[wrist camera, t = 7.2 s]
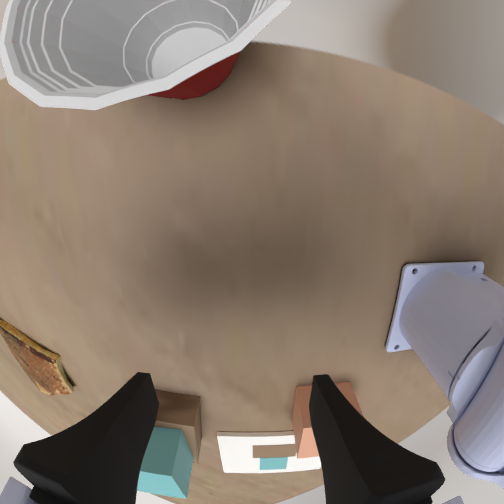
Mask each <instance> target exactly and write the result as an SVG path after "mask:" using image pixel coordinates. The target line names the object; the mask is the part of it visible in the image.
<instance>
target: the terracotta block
mask: <svg viewBox="0 0 504 504" xmlns="http://www.w3.org/2000/svg"><path fill="white" fill-rule="evenodd" d="M335 385H336V386H337V387H338V389H339V390H340V391H341V393H342V394H343V395H344V396H345V398H346V399H347V400H348V401H349V402H350V403H351V404H352V406H353V407H354V408H355V409H356V410H357V411H358V412H359V413H360V414H361V415H362V416H363V414H362V411H361V409H360V406H359V404H358V401H357V399H356V396H355V393H354V391H353V388H352V386H351V383H350V381H349V382H341V383H335ZM311 389H312V385H310V386H296V392H295V400H294V408H293V416H292V424H293V431H294V438H295V446H296V453H297V459H298V458H309V457H318V456H319V453H318V449H317V446H316V442H315V438H314V434H313V430H312V426H311V420H310V412H309V401H310V395H311Z"/></svg>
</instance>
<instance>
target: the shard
mask: <svg viewBox="0 0 504 504" xmlns="http://www.w3.org/2000/svg"><path fill="white" fill-rule="evenodd" d="M0 334H1V335H2V337H3V338H4V340H5V342H6V343H7V345H8V347H9V349H10V350H11V352H12V354H13V355H14V357H15V358H16V360H17V361H18V362H19V364H20V366H21V367H22V368H23V370H24V371H25V372H26V374H27V375H28V377H29V378H30V379H31V380H32V381H33V383H34V384H35V385H36V386H37V387H38V389H39V390H40V391H42V392H44V393H45V394H48V395H56V394H57V395H58V394H71V393H72V392H73V391H74V389H73V386H72V385H71V384H70V382H69V381H68V379H67V377H66V375H65V373H64V370H63V367H62V363H61V358H60V356H59V355H57V354H55V353H51V352H50V351H48V350H45V349H43V348H41V347H40V346H39V345H37V344H36V343H35V342H33V341H32V340H30V339H29V338H28V337H26V336H25V335H24V334H22V333H21V332H20V331H18V330H17V329H15V328H14V327H13V326H11V325H10V324H8V323H6V322H4V321H3V320H0Z"/></svg>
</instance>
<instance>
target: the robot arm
mask: <svg viewBox="0 0 504 504" xmlns="http://www.w3.org/2000/svg"><path fill="white" fill-rule="evenodd" d="M414 268H415V271H414V272H413V273H412V271H413V269H414ZM483 271H484V263H483V262H481V261H474V262H448V263H419V264H406V265H405V266H404V267H403V270H402V275H401V281H400V286H399V291H398V296H397V301H396V306H395V310H394V315H393V319H392V323H391V327H390V331H389V335H388V339H387V343H386V346H385V348H386V350H387V352H395V351H402V350H408V349H413V351H414V352H415V353H416V355H417V356H418V357H419V359H420V360H421V361H422V363H423V364H424V366H425V367H426V368H427V370H428V371H429V373H430V374H431V375H432V377H433V378H434V380H435V381H436V383H437V384H438V385H439V387H440V388H441V390H442V391H443V393H444V394H445V396H446V397H447V399H448V400H449V402H450V406H449V409H448V410H447V414H448V416H449V417H450V419H451V421H452V422H453V424H452V426H451V427H450V430H449V432H448V436H447V446H448V451H449V454H450V456H451V459H452V460H453V462H454V463H455V465H456V466H457V467H458V468H459V469H460V470H461V471H462V472H463V473H465V474H466V475H468V476H470V477H473V478H476V479H481V480H488V481H492V482H494V483H496V484H498V485H499V486H501V487H502V488H503V489H504V287H503V286H501V285H500V284H498V283H496V282H495V281H493V280H492V279H490V278H489V277H487V276H486V275H484V274H483ZM396 345H397V346H396ZM395 346H396V347H395ZM158 408H159V401H158V398H157V395H156V392H155V389H154V385H153V382H152V379H151V375H150V373H141V372H137V373H136V374H135V375H134V376H133V377H132V378H131V379H130V380H129V381H128V382H127V383H126V384H125V385H124V386H123V387H122V388H121V389H120V390H119V391H118V392H116V393H115V394H114V395H113V396H112V397H111V398H110V399H109V400H108V401H107V402H105V403H104V404H103V405H102V406H101V407H99V408H98V409H97V410H96V411H94V412H93V413H92V414H90V415H89V416H88V417H86V418H85V419H83V420H81V421H80V422H78V423H77V424H75V425H73V426H71V427H69V428H67V429H66V430H64V431H62V432H60V433H57V434H55V435H53V436H50V437H48V438H45V439H42V440H39V441H36V442H31V443H28V444H24V445H23V447H22V448H21V450H20V452H19V453H18V455H17V457H16V459H15V461H14V466H15V467H16V469H17V470H18V471H19V472H20V473H21V474H22V475H23V476H24V477H25V478H26V479H27V480H28V481H29V482H31V483H32V484H33V485H34V487H33V489H32V490H31V489H30V488H29V487H27V486H26V485H24V484H22V483H21V482H19V481H18V480H16V479H14V478H13V477H10V478H9V480H8V482H7V484H6V486H5V487H4V489H3V491H2V493H1V496H0V504H135V502H136V493H137V486H138V480H139V474H140V469H141V464H142V461H143V457H144V454H145V451H146V449H147V446H148V443H149V440H150V437H151V434H152V431H153V428H154V425H155V422H156V418H157V413H158ZM309 412H310V420H311V426H312V430H313V434H314V438H315V442H316V446H317V449H318V453H319V457H320V461H321V465H322V470H323V478H324V485H325V494H326V504H432V499H431V495H432V494H434V493H435V492H436V491H437V490H438V489H439V488H440V487H441V485H443V483H444V481H445V478H444V476H443V473H442V471H441V469H440V467H439V466H438V464H437V463H436V462H434V461H431V460H429V459H426V458H424V457H421V456H419V455H417V454H415V453H412V452H410V451H409V450H407V449H405V448H403V447H402V446H400V445H398V444H397V443H395V442H394V441H392V440H390V439H389V438H388V437H386V436H385V435H384V434H382V433H381V432H380V431H378V430H377V429H376V428H375V427H374V426H372V425H371V424H370V423H369V422H368V421H367V420H366V419H365V418H364V417H363V416H362V415H361V414H360V413H359V412H358V411H357V410H356V409H355V408H354V407H353V406H352V404H351V403H350V402H349V401H348V400H347V399H346V398H345V396H344V395H343V394H342V393H341V391H340V390H339V389H338V387H337V386H336V385H335V383H334V382H333V381H332V379H331V378H330V376H329V375H327V374H325V375H314V376H313V383H312V389H311V395H310V401H309ZM443 504H464V503H463V501H462V499H461V497H460V496H457V497H455V498H453V499H451V500H449V501H447V502H445V503H443Z"/></svg>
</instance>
